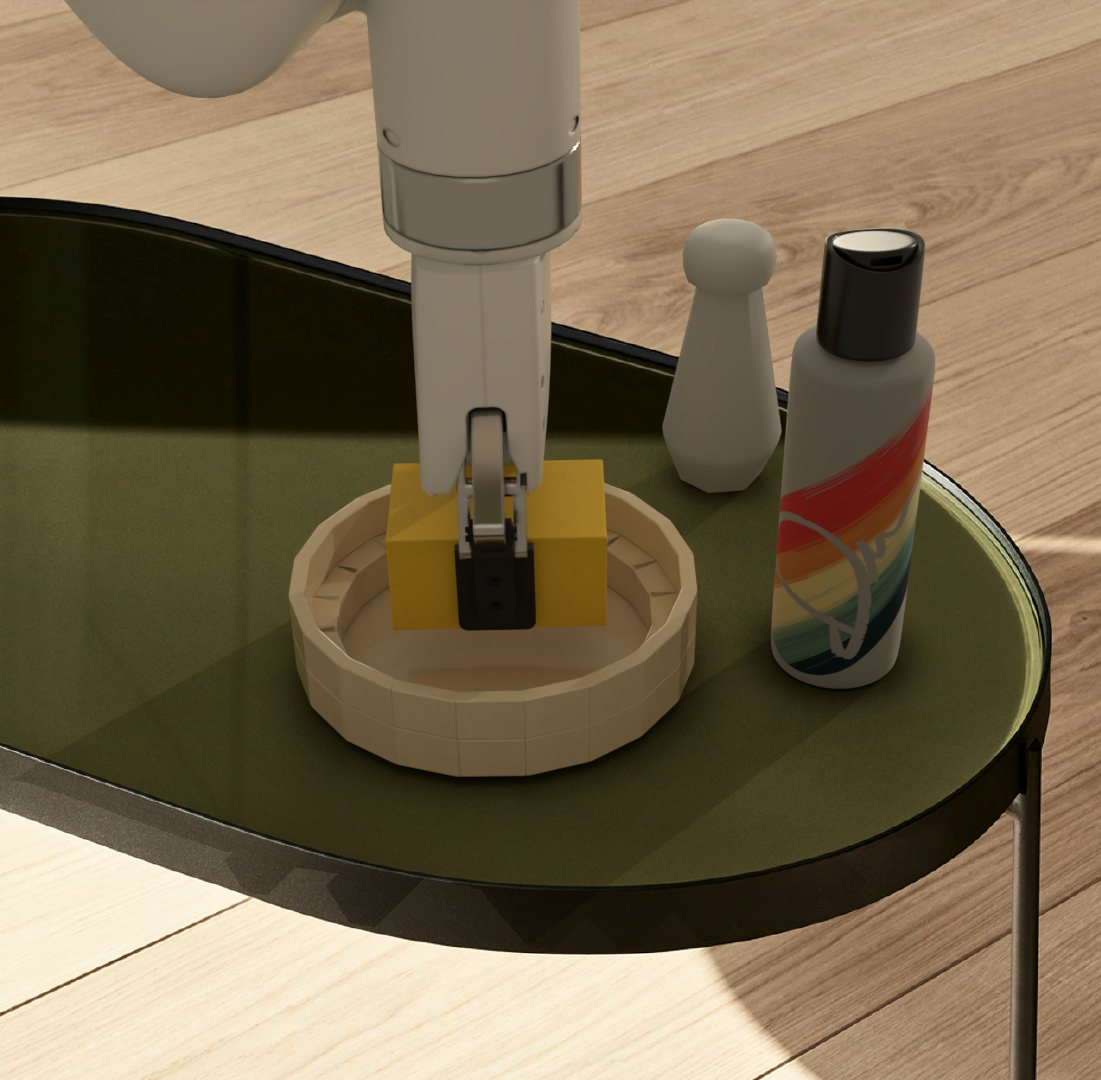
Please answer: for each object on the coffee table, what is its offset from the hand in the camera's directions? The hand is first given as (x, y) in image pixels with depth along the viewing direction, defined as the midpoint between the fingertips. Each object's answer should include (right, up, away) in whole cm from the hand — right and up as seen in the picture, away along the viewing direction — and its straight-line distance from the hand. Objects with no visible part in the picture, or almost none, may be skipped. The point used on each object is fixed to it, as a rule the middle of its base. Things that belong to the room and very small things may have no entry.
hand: (498, 575), depth 86 cm
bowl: (0, -3, +3) cm, 4 cm away
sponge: (0, 0, 0) cm, 1 cm away
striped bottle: (+15, -3, +3) cm, 15 cm away
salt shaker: (+11, +6, +15) cm, 19 cm away
